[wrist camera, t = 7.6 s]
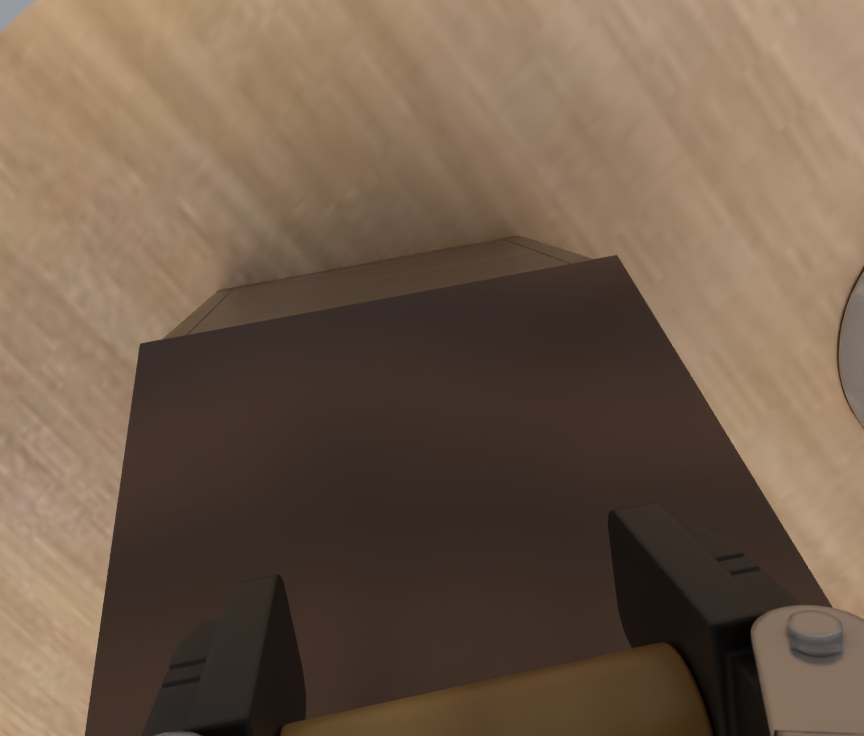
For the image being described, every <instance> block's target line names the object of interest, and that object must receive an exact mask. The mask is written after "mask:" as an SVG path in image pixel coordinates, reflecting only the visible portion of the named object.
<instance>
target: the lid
mask: <svg viewBox="0 0 864 736" xmlns="http://www.w3.org/2000/svg"><path fill="white" fill-rule="evenodd" d="M654 502H657V503H659V504H660V505H661V506H662V507H663V508H664V509H665V510H666V511H667V512H668V513H669V514H670V515H671V516H672V517H673V518H674V519H675V520H676V521H677V522H678V523H679V524H680V525H681V526H682V527H683V528H689V527H694V526H699V527H702V528H704V529H707V530H710V531H712V532H715V533H717V534H720V535H722V536H725V537H727V538H728V539H729V540H730V541H731V542H732V543H733V544H734V545H736V546H737V547H738V548H739V549H740V550H741V551H742V552H743V553H744V555H745V557H746V556H748V557H749V558H750V559H751V560H752V561H754V562H755V563H756V564H757V565H758V566H759V569H760V570H764V571H765V572H766V573H767V574H768V575H769V576H770V577H771V578H773V579H774V580H775V581H776V582H777V583H778V584H779V585H780V586H782V587H783V588H784V589H785V590H786V591H787V592H788V593H789V594H791V595H792V596H793V597H794V598H795V599H796V600H797V601H798V602H800V603H801V604H802V605H816V606H825V607H830V608H833V607H832V606H831V604H830V602H829V601H828V599H827V597H826V596H825V594H824V593H823V591H822V589H821V588H820V586H819V584H818V583H817V581H816V580H815V578H814V576H813V575H812V573H811V571H810V570H809V568H808V566H807V565H806V563H805V562H804V560H803V558H802V557H801V555H800V553H799V552H798V550H797V548H796V547H795V545H794V544H793V542H792V540H791V539H790V537H789V535H788V534H787V532H786V530H785V529H784V527H783V526H782V524H781V522H780V521H779V519H778V517H777V516H776V514H775V512H774V511H773V509H772V508H771V506H770V504H769V503H768V501H767V499H766V498H765V496H764V494H763V493H762V491H761V490H760V488H759V486H758V485H757V483H756V481H755V480H754V478H753V476H752V475H751V473H750V472H749V470H748V468H747V467H746V465H745V463H744V462H743V460H742V459H741V457H740V455H739V454H738V452H737V450H736V449H735V447H734V445H733V444H732V442H731V441H730V439H729V437H728V436H727V434H726V432H725V431H724V429H723V427H722V426H721V424H720V423H719V421H718V419H717V418H716V416H715V414H714V413H713V411H712V409H711V408H710V406H709V405H708V403H707V401H706V400H705V398H704V396H703V395H702V393H701V391H700V390H699V388H698V387H697V385H696V383H695V382H694V380H693V378H692V377H691V375H690V373H689V372H688V370H687V369H686V367H685V365H684V364H683V362H682V360H681V359H680V357H679V355H678V354H677V352H676V351H675V349H674V347H673V346H672V344H671V342H670V341H669V339H668V338H667V336H666V334H665V333H664V331H663V329H662V328H661V326H660V324H659V323H658V321H657V320H656V318H655V316H654V315H653V313H652V311H651V310H650V308H649V306H648V305H647V303H646V302H645V300H644V298H643V297H642V295H641V293H640V292H639V290H638V288H637V287H636V285H635V284H634V282H633V280H632V279H631V277H630V275H629V274H628V272H627V270H626V269H625V267H624V266H623V264H622V262H621V261H620V259H619V257H618V256H617V255H615V256H609V257H604V258H598V259H593V260H588V261H582V262H577V263H572V264H566V265H561V266H555V267H550V268H545V269H539V270H534V271H528V272H523V273H518V274H512V275H507V276H502V277H496V278H491V279H485V280H480V281H475V282H469V283H464V284H458V285H453V286H448V287H442V288H437V289H431V290H426V291H421V292H415V293H410V294H405V295H399V296H394V297H388V298H383V299H378V300H372V301H367V302H361V303H356V304H351V305H345V306H340V307H334V308H329V309H324V310H318V311H313V312H308V313H302V314H297V315H291V316H286V317H281V318H275V319H270V320H264V321H259V322H254V323H248V324H243V325H238V326H232V327H227V328H221V329H216V330H211V331H205V332H200V333H194V334H189V335H184V336H178V337H173V338H167V339H162V340H157V341H151V342H146V343H141V344H140V348H139V355H138V362H137V369H136V376H135V383H134V390H133V397H132V404H131V411H130V419H129V426H128V433H127V440H126V447H125V454H124V461H123V468H122V475H121V482H120V490H119V497H118V504H117V511H116V518H115V525H114V532H113V539H112V546H111V553H110V561H109V568H108V575H107V582H106V589H105V596H104V603H103V610H102V617H101V624H100V632H99V639H98V646H97V653H96V660H95V667H94V674H93V681H92V688H91V695H90V703H89V710H88V717H87V724H86V731H85V736H141V735H142V733H143V730H144V728H145V725H146V723H147V720H148V718H149V715H150V713H151V710H152V708H153V705H154V703H155V700H156V697H157V695H158V692H159V690H160V689H162V682H163V680H164V677H165V675H166V672H167V670H169V664H170V662H171V659H172V657H173V654H174V652H175V649H176V647H177V644H178V643H179V642H180V641H181V640H182V639H183V638H184V637H185V636H186V635H187V634H188V633H189V632H190V631H191V630H192V629H193V628H194V627H195V626H196V625H197V624H198V623H199V622H203V621H208V620H214V619H219V617H220V614H221V611H222V608H223V605H224V602H225V599H226V595H227V592H228V589H229V586H230V584H231V583H235V582H240V581H246V580H251V579H256V578H261V577H266V576H272V575H277V574H280V576H281V577H282V580H283V582H284V586H285V590H286V594H287V599H288V603H289V608H290V612H291V617H292V622H293V626H294V631H295V635H296V640H297V644H298V649H299V654H300V658H301V663H302V668H303V674H304V681H305V690H306V717H305V720H302V721H297V722H293V723H288V724H286V725H285V726H284V727H282V729H281V731H280V734H279V736H714V733H713V729H712V726H711V722H710V719H709V715H708V712H707V709H706V706H705V703H704V701H703V698H702V695H701V693H700V691H699V688H698V686H697V684H696V681H695V679H694V677H693V675H692V673H691V671H690V669H689V668H688V666H687V664H686V663H685V661H684V659H683V658H682V656H681V655H680V654H679V652H678V651H677V650H676V649H675V648H674V647H673V646H672V645H671V644H668V643H665V642H659V643H654V644H649V645H645V646H640V647H636V648H632V647H631V645H630V643H629V642H628V639H627V637H626V635H625V632H624V629H623V626H622V623H621V619H620V615H619V611H618V605H617V598H616V590H615V581H614V573H613V565H612V556H611V548H610V540H609V531H608V514H609V512H610V511H613V510H618V509H623V508H628V507H633V506H639V505H644V504H649V503H654Z"/></svg>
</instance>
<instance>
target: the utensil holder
mask: <svg viewBox="0 0 864 736" xmlns="http://www.w3.org/2000/svg"><path fill="white" fill-rule="evenodd" d="M839 370H840V377H841V381H842V386H843V389H844V392H845V395H846V398H847V400H848V402H849V405H850V407H851V408H852V410H853V412H854V414H855V416H856V417H857V419H858V420H859V422H860V423H861V425H862V426H863V427H864V271H863V273H862V275H861V276H860V278H859V280H858V282H857V284H856V286H855V288H854V290H853V292H852V294H851V297H850V299H849V302H848V304H847V307H846V311H845V314H844V318H843V322H842V326H841V333H840V343H839Z"/></svg>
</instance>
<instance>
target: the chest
mask: <svg viewBox="0 0 864 736" xmlns="http://www.w3.org/2000/svg"><path fill="white" fill-rule="evenodd" d="M588 260H593V259H591V258H588V257H585V256H581V255H578V254H575V253H572V252H569V251H565V250H562V249H559V248H556V247H553V246H550V245H546V244H543V243H540V242H537V241H534V240H530V239H527V238H524V237H520V236H514V237H508V238H503V239H497V240H492V241H486V242H481V243H476V244H470V245H465V246H459V247H454V248H448V249H443V250H437V251H432V252H426V253H421V254H415V255H410V256H404V257H399V258H393V259H388V260H382V261H377V262H371V263H366V264H360V265H355V266H349V267H344V268H339V269H333V270H328V271H322V272H317V273H311V274H306V275H300V276H295V277H289V278H284V279H278V280H273V281H267V282H262V283H256V284H251V285H245V286H240V287H234V288H229V289H223V290H219V291H217V292H216V293H215V294H214V295H213V296H211V297H210V298H209V299H208V300H207V301H206V302H205V303H203V304H202V305H201V306H200V307H199V308H198V309H197V310H195V311H194V312H193V313H192V314H191V315H190V316H189V317H187V318H186V319H185V320H184V321H183V322H182V323H181V324H179V325H178V326H177V327H176V328H175V329H174V330H172V331H171V332H170V333H169V334H168V335H167V336H166V337H164V338H163V339H167V338H173V337H178V336H184V335H189V334H194V333H200V332H205V331H211V330H216V329H221V328H227V327H232V326H238V325H243V324H248V323H254V322H259V321H264V320H270V319H275V318H281V317H286V316H291V315H297V314H302V313H308V312H313V311H318V310H324V309H329V308H334V307H340V306H345V305H351V304H356V303H361V302H367V301H372V300H378V299H383V298H388V297H394V296H399V295H405V294H410V293H415V292H421V291H426V290H431V289H437V288H442V287H448V286H453V285H458V284H464V283H469V282H475V281H480V280H485V279H491V278H496V277H502V276H507V275H512V274H518V273H523V272H528V271H534V270H539V269H545V268H550V267H555V266H561V265H566V264H572V263H577V262H582V261H588Z"/></svg>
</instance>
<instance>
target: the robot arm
mask: <svg viewBox="0 0 864 736" xmlns="http://www.w3.org/2000/svg"><path fill="white" fill-rule="evenodd" d="M608 531H609V540H610V548H611V556H612V565H613V573H614V581H615V590H616V598H617V605H618V611H619V615H620V619H621V623H622V626H623V629H624V632H625V635H626V637H627V639H628V642H629V643H630V645H631V647H632V648H636V647H640V646H645V645H649V644H654V643H659V642H665V643H668V644H671V645H672V646H673V647H674V648H675V649H676V650H677V651H678V652H679V654H680V655H681V656H682V658H683V659H684V661H685V663H686V664H687V666H688V668H689V669H690V671H691V673H692V675H693V677H694V679H695V681H696V684H697V686H698V688H699V691H700V693H701V695H702V698H703V701H704V703H705V706H706V709H707V712H708V715H709V719H710V722H711V726H712V729H713V733H714V736H864V619H862V618H860V617H858V616H856V615H854V614H851V613H849V612H846V611H843V610H839V609H835V608H830V607H825V606H816V605H802V604H801V603H800V602H798V601H797V600H796V599H795V598H794V597H793V596H792V595H791V594H789V593H788V592H787V591H786V590H785V589H784V588H783V587H782V586H780V585H779V584H778V583H777V582H776V581H775V580H774V579H773V578H771V577H770V576H769V575H768V574H767V573H766V572H765V571H764V570H760V569H759V566H758V565H757V564H756V563H755V562H754V561H752V560H751V559H750V558H749V557H748V556H746V557H745V555H744V553H743V552H742V551H741V550H740V549H739V548H738V547H737V546H736V545H734V544H733V543H732V542H731V541H730V540H729V539H728V538H727V537H725V536H722V535H720V534H717V533H715V532H712V531H710V530H707V529H704V528H702V527H699V526H694V527H689V528H683V527H682V526H681V525H680V524H679V523H678V522H677V521H676V520H675V519H674V518H673V517H672V516H671V515H670V514H669V513H668V512H667V511H666V510H665V509H664V508H663V507H662V506H661V505H660V504H659V503H657V502H654V503H649V504H644V505H639V506H633V507H628V508H623V509H618V510H613V511H610V512H609V514H608ZM305 717H306V690H305V681H304V674H303V668H302V663H301V658H300V654H299V649H298V644H297V640H296V635H295V631H294V626H293V622H292V617H291V612H290V608H289V603H288V599H287V594H286V590H285V586H284V582H283V580H282V577H281V576H280V574H277V575H272V576H266V577H261V578H256V579H251V580H246V581H240V582H235V583H231V584H230V586H229V589H228V592H227V595H226V599H225V602H224V605H223V608H222V611H221V614H220V617H219V619H214V620H208V621H203V622H199V623H198V624H197V625H196V626H195V627H194V628H193V629H192V630H191V631H190V632H189V633H188V634H187V635H186V636H185V637H184V638H183V639H182V640H181V641H180V642H179V643H178V644H177V647H176V649H175V652H174V654H173V657H172V659H171V662H170V664H169V670H167V672H166V675H165V677H164V680H163V682H162V689H160V690H159V692H158V695H157V697H156V700H155V703H154V705H153V708H152V710H151V713H150V715H149V718H148V720H147V723H146V725H145V728H144V730H143V733H142V735H141V736H279V734H280V731H281V729H282V727H284V726H285V725H286V724H288V723H293V722H297V721H302V720H305Z"/></svg>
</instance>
